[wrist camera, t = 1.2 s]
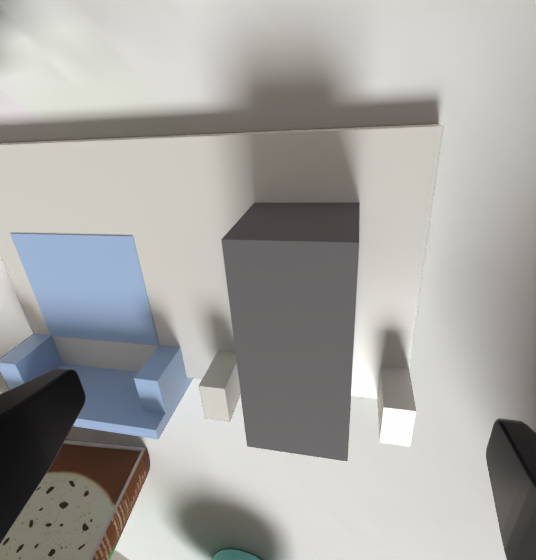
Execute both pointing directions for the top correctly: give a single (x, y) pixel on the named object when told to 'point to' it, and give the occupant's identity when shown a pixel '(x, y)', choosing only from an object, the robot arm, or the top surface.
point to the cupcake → (233, 555)
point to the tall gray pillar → (295, 323)
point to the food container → (79, 504)
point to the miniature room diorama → (201, 260)
